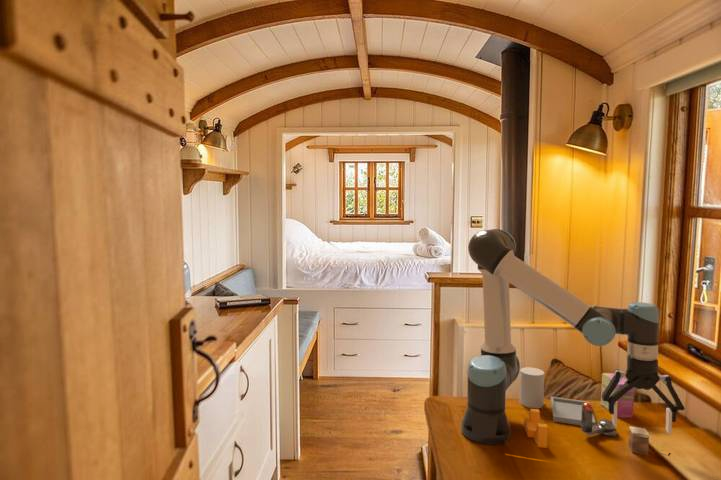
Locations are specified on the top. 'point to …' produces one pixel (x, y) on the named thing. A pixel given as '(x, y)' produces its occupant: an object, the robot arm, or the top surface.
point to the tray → (568, 411)
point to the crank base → (609, 433)
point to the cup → (531, 387)
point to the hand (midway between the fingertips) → (640, 428)
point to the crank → (587, 422)
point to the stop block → (638, 440)
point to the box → (624, 402)
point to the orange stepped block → (536, 428)
